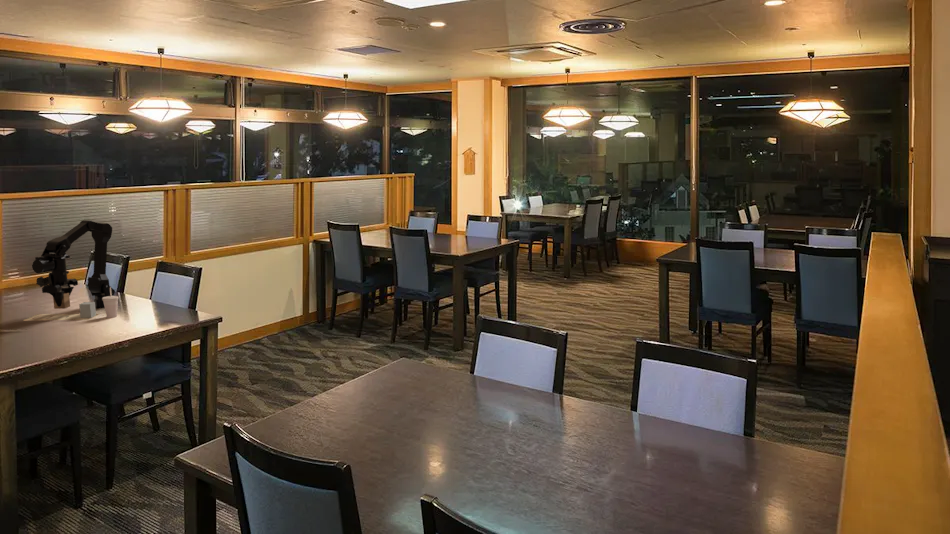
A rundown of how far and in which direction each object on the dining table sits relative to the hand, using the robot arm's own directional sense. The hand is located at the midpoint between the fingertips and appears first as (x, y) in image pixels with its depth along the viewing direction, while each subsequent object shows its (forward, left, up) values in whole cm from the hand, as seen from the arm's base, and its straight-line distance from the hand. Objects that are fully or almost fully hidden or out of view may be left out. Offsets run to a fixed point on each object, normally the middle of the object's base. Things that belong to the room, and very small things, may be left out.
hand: (62, 305), depth 310 cm
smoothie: (-14, +16, -6) cm, 22 cm away
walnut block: (0, 0, -1) cm, 1 cm away
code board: (0, 0, -6) cm, 6 cm away
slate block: (-7, +8, -5) cm, 12 cm away
